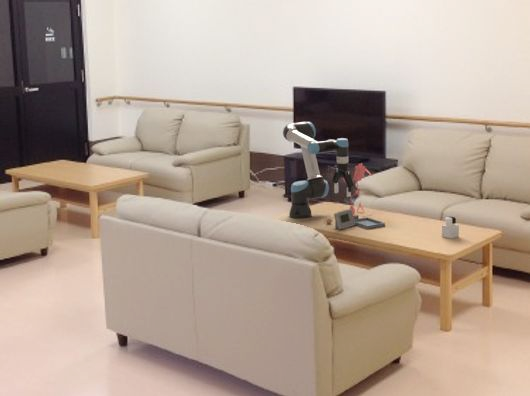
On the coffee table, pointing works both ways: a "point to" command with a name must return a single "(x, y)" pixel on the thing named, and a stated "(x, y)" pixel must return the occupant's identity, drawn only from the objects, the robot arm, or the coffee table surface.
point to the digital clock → (344, 219)
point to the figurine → (359, 175)
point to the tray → (368, 223)
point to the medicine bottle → (450, 228)
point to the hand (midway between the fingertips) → (342, 194)
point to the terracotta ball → (328, 220)
